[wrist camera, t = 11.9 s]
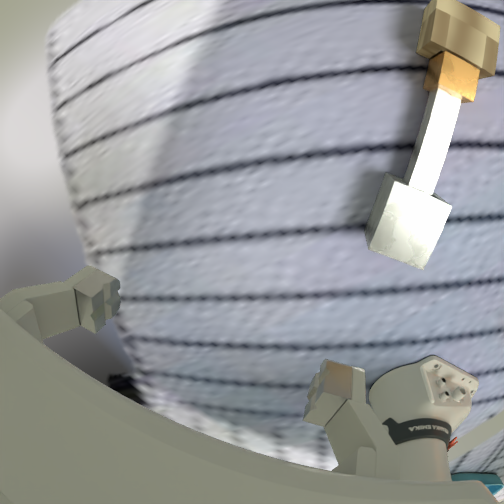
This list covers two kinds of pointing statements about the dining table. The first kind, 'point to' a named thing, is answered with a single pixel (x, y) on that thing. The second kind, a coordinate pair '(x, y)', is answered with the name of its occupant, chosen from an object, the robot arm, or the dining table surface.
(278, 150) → the dining table surface
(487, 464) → the dining table surface
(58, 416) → the robot arm
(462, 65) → the tube
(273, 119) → the dining table surface
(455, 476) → the casserole dish
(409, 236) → the outer sleeve
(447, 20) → the socket block
